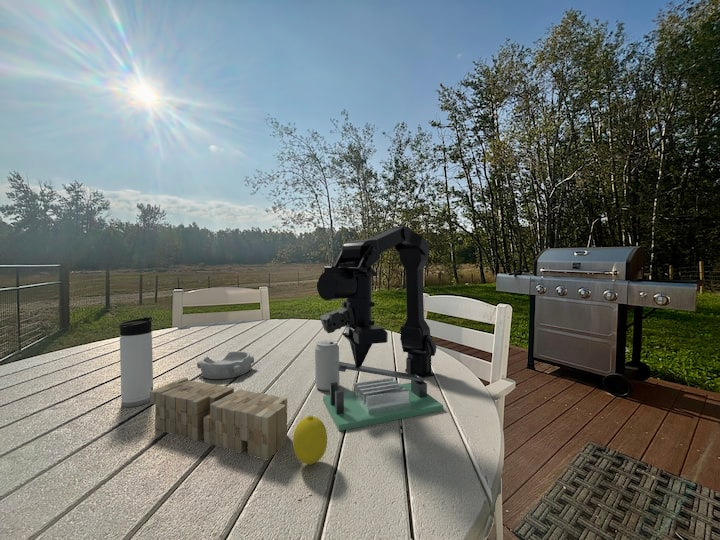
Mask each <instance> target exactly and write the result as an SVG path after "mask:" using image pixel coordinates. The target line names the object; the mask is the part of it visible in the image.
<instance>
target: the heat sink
mask: <svg viewBox="0 0 720 540" xmlns="http://www.w3.org/2000/svg"><path fill="white" fill-rule="evenodd" d="M410 383H411V392H413V393H414V394H415V395H416V396H418V397H419V398H422V397H427V394H428V383H427V382H425V381H424V382H422V383H421V382H420V381H414V380H410ZM401 384H402V383H400V382H398V380H396V379H394V377H386V378H385V377H384V378H378V379H372V380H366V381H365V380H364V381H357V382H354V383H353V387H354V388H353V391H352V392H353V395H354V396H355V398H356V399H357V400H358V402H359V403H360V404H361V405H362V407H363V408H364V409H365V410H366V412H367V413H368V414H372V413H377V412H383V411H388V410H393V409H399V408H404V407H410V406H411V402H410V401H409V390H405V387H404V386H402V387H401ZM344 393H345V392H344V390H343V389H339V386H338V383H337V382H334V383H330V391H329V395H330V404H331V405H335V413H336V414H343V413H344Z"/></svg>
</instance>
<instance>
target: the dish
mask: <svg viewBox="0 0 720 540" xmlns="http://www.w3.org/2000/svg"><path fill="white" fill-rule="evenodd" d="M254 362H255V357H254V355H251V354H250V353H249V352H247V351H242V350H241V351H239V350H237V351H234V350H233V351H229V352H228V353H227V354H226V356H225V357H223V359H221V360H217V361H215V360H213V359H211V358H210V357H209V356H205V357H204V358H201V359H200V360H197V361H196V366H197V369H200V371H201V372H200V373H201V375H202V377H203V378H205V379H210V380H223V379H231V378H236V377H241V376H243V375H244V374H246V373H248V372H249V371H250V370H251V369H252V364H254Z"/></svg>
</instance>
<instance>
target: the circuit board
mask: <svg viewBox="0 0 720 540" xmlns="http://www.w3.org/2000/svg"><path fill="white" fill-rule="evenodd" d="M400 384H401V387H402V386H404V387H405V390H409V401H410V402H411V406H410V407H404V408H399V409H393V410H388V411H383V412H377V413H372V414H368V413H367V412H366V410H365V409H364V408H363V407H362V405H361V404H360V403H359V402H358V400H357V399H356V398H355V396H354V395H353V391H347V392H344V413H343V414H336V413H335V405H331V404H330V394H328V395H323V396H322V402H323V404H324V405H325V408H326V410H327V411H328V413H329V415H330V417H331V419H332V421H333V423H334V424H335V426H336V429H337V430H338V432H341V431H346V430H352V429H355V428H361V427H365V426H366V427H367V426H370V425H376V424H381V423H386V422H391V421H392V422H393V421H396V420H402V419H407V418H411V417H417V416H422V415H426V414H431V413H437V412H442V411H444V405H443V404H442V403H441V402H439V401H438V400H437V399H436V398H434V397H432V396H431V395H430V394H429V393H427V397H422V398H419V397H418V396H416V395H415V394H414V393H413V392H411V382H406V383H400Z"/></svg>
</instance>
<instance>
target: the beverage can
mask: <svg viewBox="0 0 720 540" xmlns="http://www.w3.org/2000/svg"><path fill="white" fill-rule="evenodd" d="M336 361H338V362H340V347H339V344H338V341H336V340H332V339H331V340H330V339H327V340H319V341H317V342H316V343H315V346H314V366H315V367H314V371H315V374H314V375H315V387H316V388H317V389H318V390H320V391H325V392H326V391H329V392H330V383H334V382H337V383H338V387H339V386H340V384H341V383H340V371H338V370H337V369H336V367H335V364H336Z"/></svg>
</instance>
